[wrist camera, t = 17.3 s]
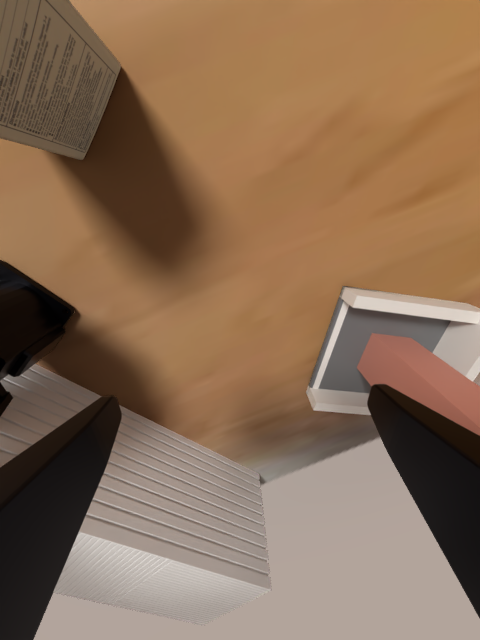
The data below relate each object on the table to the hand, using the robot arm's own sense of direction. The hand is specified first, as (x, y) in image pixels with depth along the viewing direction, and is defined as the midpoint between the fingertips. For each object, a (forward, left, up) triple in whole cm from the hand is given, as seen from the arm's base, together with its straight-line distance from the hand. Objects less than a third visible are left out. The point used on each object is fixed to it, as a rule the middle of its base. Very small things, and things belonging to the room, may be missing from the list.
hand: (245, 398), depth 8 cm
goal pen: (+15, +5, -13) cm, 20 cm away
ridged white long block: (+4, -23, -14) cm, 27 cm away
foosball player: (+15, +5, -13) cm, 20 cm away
